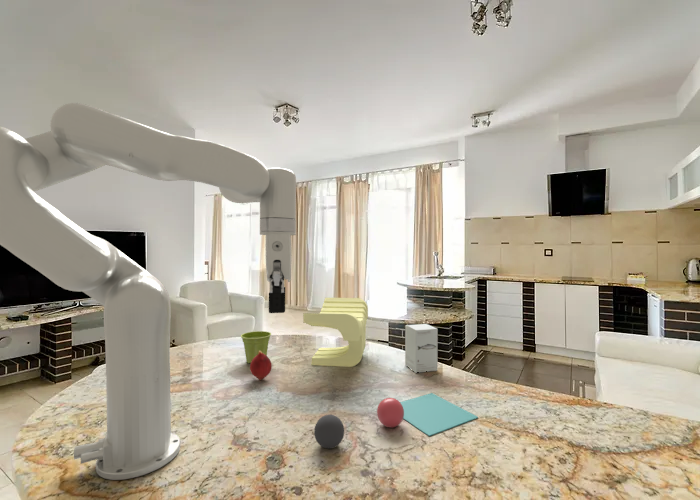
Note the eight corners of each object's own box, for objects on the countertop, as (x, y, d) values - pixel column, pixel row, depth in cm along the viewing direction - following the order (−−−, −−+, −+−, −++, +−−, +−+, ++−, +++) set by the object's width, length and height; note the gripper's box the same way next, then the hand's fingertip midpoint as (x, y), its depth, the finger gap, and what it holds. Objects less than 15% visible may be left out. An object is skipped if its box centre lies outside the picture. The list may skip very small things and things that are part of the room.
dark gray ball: (322, 458, 59) (322, 427, 59) (309, 443, 64) (309, 413, 64) (349, 449, 62) (349, 418, 62) (335, 434, 67) (335, 406, 67)
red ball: (387, 435, 66) (387, 407, 66) (371, 423, 71) (371, 396, 71) (409, 428, 69) (409, 401, 69) (393, 416, 74) (393, 391, 74)
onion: (274, 376, 98) (274, 348, 98) (267, 384, 92) (267, 354, 92) (254, 375, 98) (254, 347, 98) (246, 383, 92) (246, 353, 92)
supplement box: (415, 373, 99) (415, 330, 99) (404, 365, 106) (404, 324, 106) (438, 371, 101) (438, 328, 101) (426, 363, 108) (426, 322, 108)
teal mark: (429, 436, 66) (429, 435, 66) (386, 407, 78) (386, 406, 78) (478, 417, 73) (478, 416, 73) (431, 393, 85) (431, 392, 85)
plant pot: (239, 359, 113) (239, 332, 113) (268, 355, 117) (267, 329, 116) (243, 368, 104) (243, 339, 104) (274, 363, 108) (274, 336, 108)
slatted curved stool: (359, 377, 96) (358, 314, 96) (303, 375, 98) (303, 313, 98) (367, 346, 126) (367, 298, 126) (325, 345, 128) (325, 297, 128)
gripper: (297, 225, 65) (296, 315, 65) (294, 230, 82) (294, 301, 82) (256, 225, 64) (255, 317, 64) (262, 230, 81) (262, 302, 81)
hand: (277, 308), depth 73 cm, fingers open, 9 cm apart
